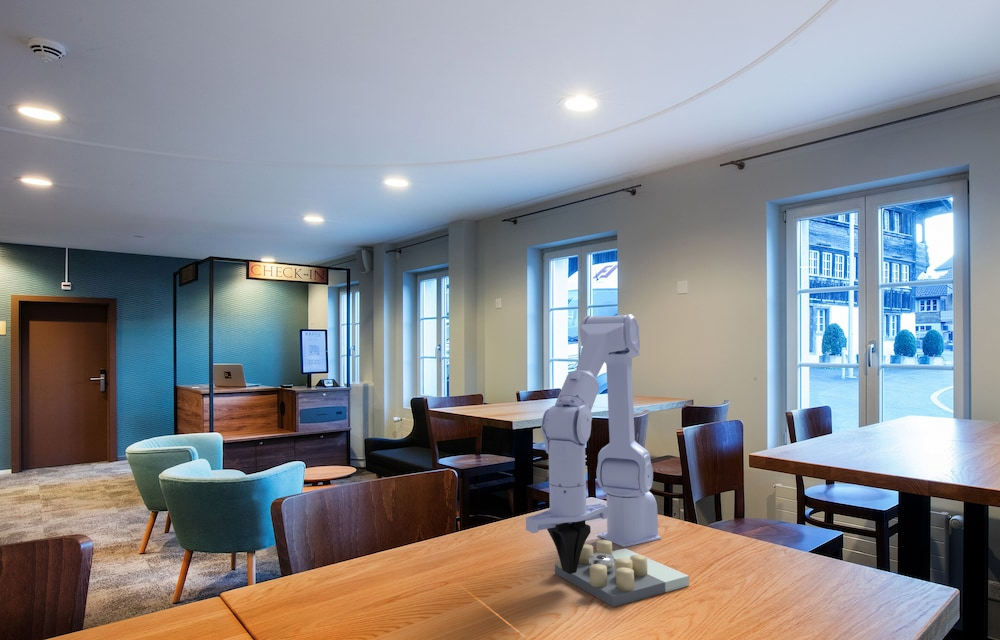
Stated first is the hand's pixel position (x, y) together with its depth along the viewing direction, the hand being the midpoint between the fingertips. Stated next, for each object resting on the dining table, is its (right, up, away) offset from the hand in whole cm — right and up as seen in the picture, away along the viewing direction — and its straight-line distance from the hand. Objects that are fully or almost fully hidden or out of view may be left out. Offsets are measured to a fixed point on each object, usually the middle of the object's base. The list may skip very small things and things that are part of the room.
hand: (569, 571), depth 95 cm
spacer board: (+8, -2, +3) cm, 9 cm away
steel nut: (+6, -1, +3) cm, 6 cm away
